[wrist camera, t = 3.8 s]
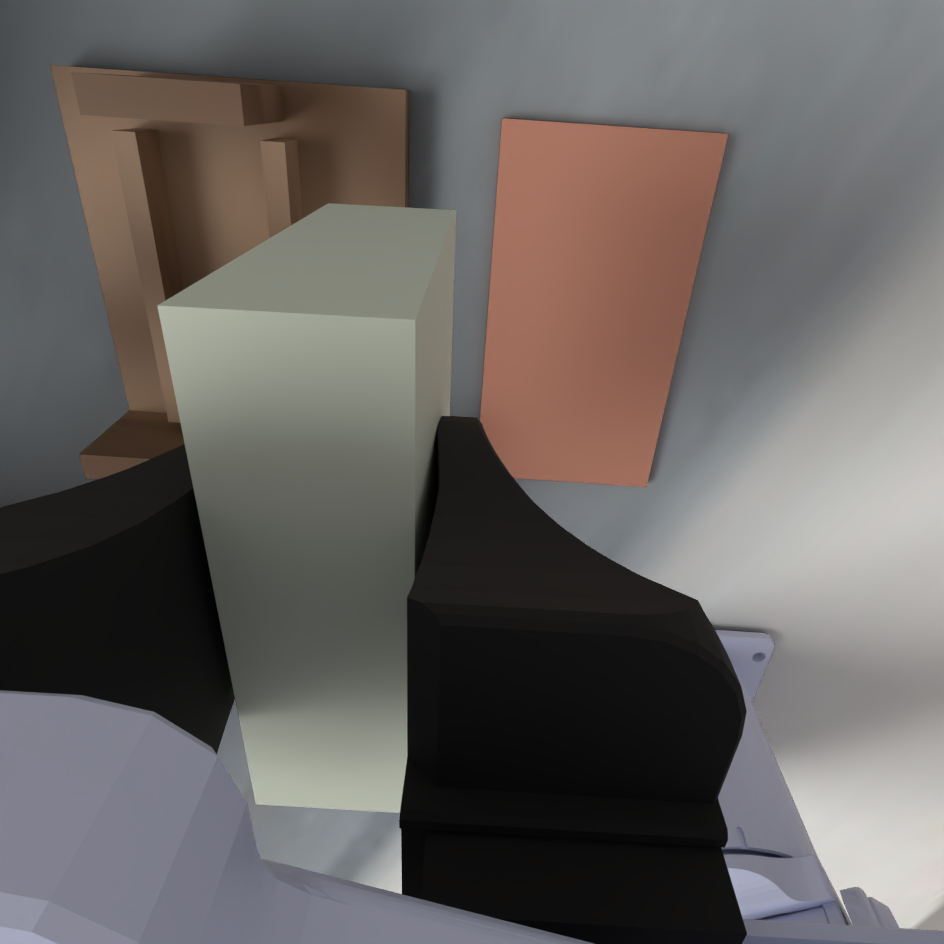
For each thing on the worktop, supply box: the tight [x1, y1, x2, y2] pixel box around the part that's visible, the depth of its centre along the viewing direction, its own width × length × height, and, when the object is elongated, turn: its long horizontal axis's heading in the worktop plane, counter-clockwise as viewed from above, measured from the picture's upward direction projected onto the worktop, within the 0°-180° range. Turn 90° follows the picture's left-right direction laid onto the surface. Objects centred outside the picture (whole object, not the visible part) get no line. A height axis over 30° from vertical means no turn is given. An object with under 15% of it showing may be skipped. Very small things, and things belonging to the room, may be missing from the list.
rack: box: [50, 65, 409, 479], centre depth 19 cm, size 15×9×4 cm, turn 177°
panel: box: [157, 203, 456, 813], centre depth 11 cm, size 8×2×7 cm, turn 177°
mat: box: [480, 118, 728, 487], centre depth 20 cm, size 11×6×1 cm, turn 177°
